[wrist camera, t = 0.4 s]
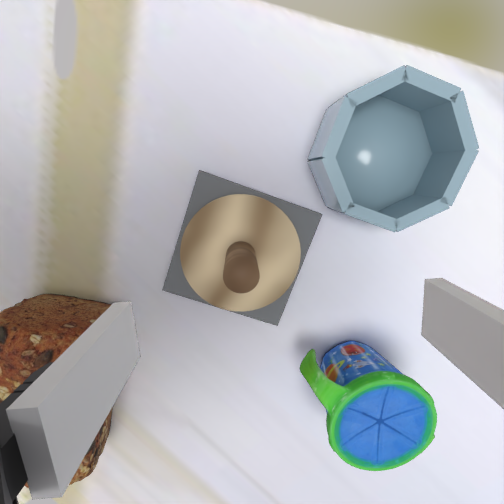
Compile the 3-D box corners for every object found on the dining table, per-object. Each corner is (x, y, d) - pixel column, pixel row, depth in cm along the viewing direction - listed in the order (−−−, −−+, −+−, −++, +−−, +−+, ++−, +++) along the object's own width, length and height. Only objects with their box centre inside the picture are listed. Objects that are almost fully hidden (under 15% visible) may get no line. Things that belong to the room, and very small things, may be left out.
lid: (167, 287, 36) (147, 319, 28) (202, 176, 33) (190, 177, 25) (274, 320, 38) (284, 360, 30) (316, 217, 35) (339, 230, 27)
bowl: (293, 195, 35) (304, 199, 29) (341, 69, 32) (364, 46, 26) (401, 234, 36) (432, 245, 31) (455, 117, 34) (501, 105, 28)
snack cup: (421, 368, 41) (479, 430, 31) (365, 424, 43) (403, 500, 33) (329, 299, 38) (361, 344, 28) (274, 363, 40) (286, 425, 30)
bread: (38, 287, 36) (-35, 328, 27) (132, 303, 37) (94, 349, 28) (30, 422, 41) (-36, 500, 31) (114, 434, 42) (77, 513, 32)
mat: (163, 288, 37) (162, 290, 36) (199, 170, 34) (199, 170, 33) (276, 323, 38) (277, 325, 38) (320, 213, 35) (322, 214, 35)
